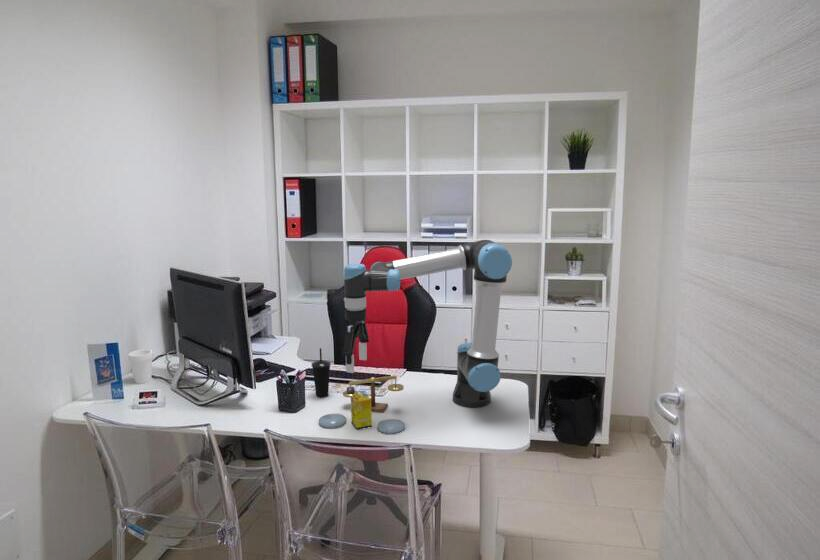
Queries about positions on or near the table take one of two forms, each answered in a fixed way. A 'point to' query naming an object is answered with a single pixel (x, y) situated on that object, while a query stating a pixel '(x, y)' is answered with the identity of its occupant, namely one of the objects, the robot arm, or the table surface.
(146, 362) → the foam cup
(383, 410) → the balance stand
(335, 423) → the dish low side
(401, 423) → the blue-grey plate
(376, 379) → the balance beam
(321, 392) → the drinking cup
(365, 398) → the supplement box
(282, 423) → the table surface
